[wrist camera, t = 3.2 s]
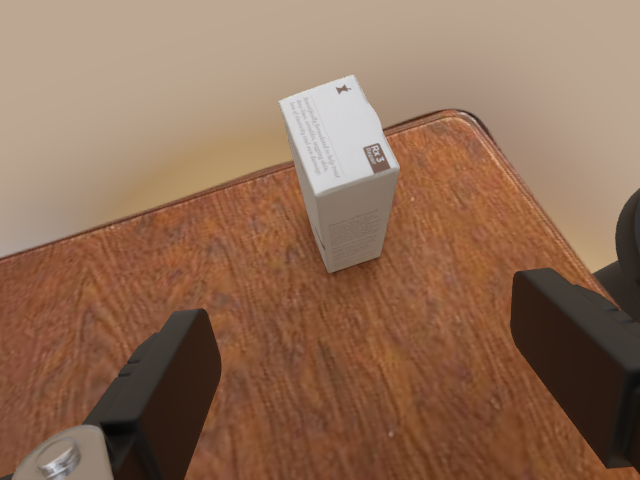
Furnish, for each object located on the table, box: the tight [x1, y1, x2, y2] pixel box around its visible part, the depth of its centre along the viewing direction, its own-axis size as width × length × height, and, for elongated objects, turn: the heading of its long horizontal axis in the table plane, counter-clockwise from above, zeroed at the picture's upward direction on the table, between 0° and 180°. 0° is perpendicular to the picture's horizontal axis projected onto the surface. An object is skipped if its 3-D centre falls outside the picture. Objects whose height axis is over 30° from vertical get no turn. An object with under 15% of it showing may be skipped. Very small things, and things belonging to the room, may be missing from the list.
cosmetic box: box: [279, 75, 400, 273], centre depth 23 cm, size 6×4×12 cm
